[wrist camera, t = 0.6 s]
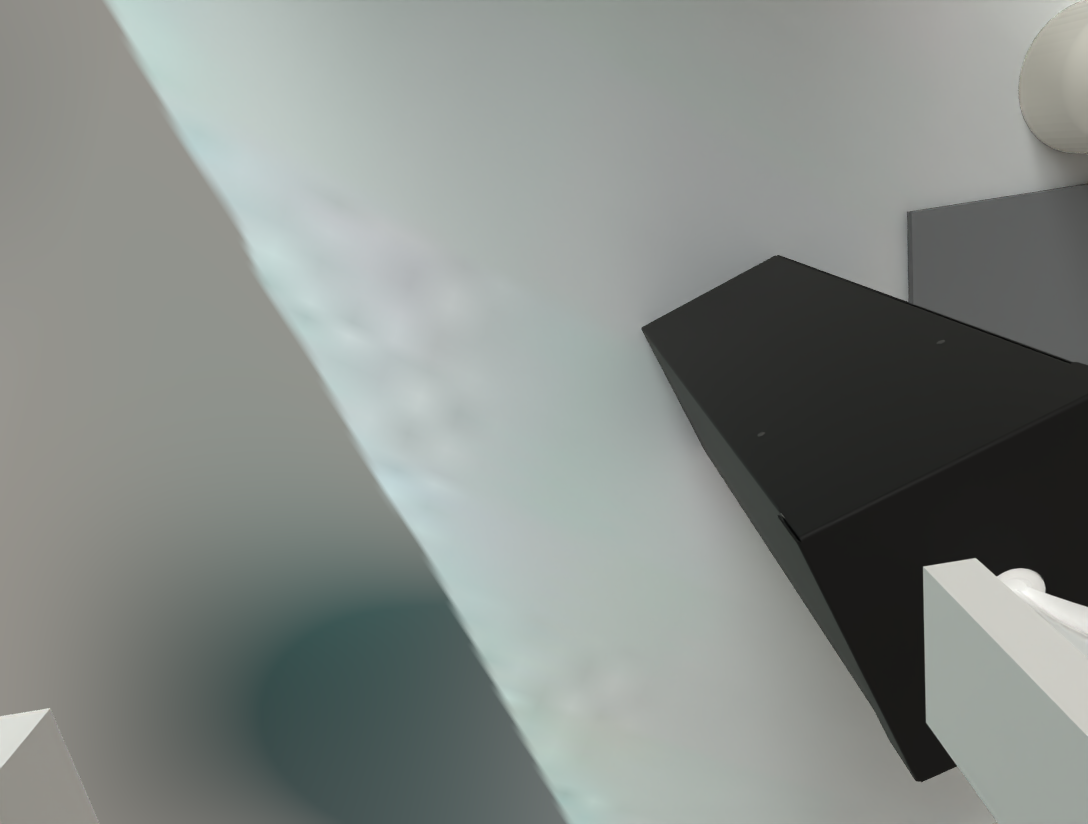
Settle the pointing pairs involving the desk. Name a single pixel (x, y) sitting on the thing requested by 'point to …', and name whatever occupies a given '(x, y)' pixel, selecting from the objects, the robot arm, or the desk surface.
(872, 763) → the desk surface
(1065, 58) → the stoneware mug
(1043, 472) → the black rectangular box
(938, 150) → the desk surface
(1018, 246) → the mat
